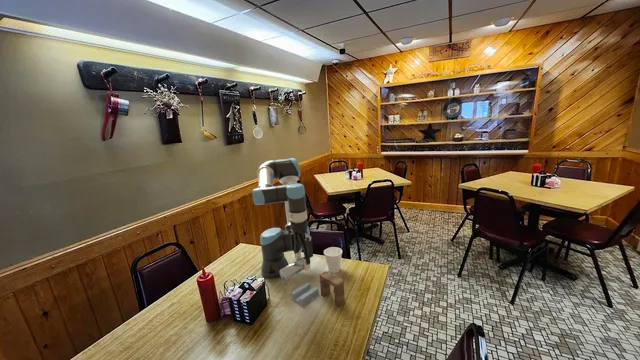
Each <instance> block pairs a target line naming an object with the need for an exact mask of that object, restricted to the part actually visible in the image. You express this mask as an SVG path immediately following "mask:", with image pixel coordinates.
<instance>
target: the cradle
mask: <svg viewBox="0 0 640 360" xmlns="http://www.w3.org/2000/svg"><path fill="white" fill-rule="evenodd" d="M319 295H320V292H319V288H318V287H316V286H314V287H311V283H309V282H306V283H304V284H303V285H301V286H299V287H297V288H296V289H295V290H293V291H291V292H290V298H291V299H292V300H293V301H294V302H296V303H298V304H299V305H300V306H302V307H303V306H304V305H306V304H308V303H309V302H310V301H312V300H314V299H315V298H316V297H318V296H319Z"/></svg>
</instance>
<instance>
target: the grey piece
mask: <svg viewBox="0 0 640 360" xmlns="http://www.w3.org/2000/svg"><path fill="white" fill-rule="evenodd" d="M304 257H305V256H303V257H302V256H301V259H299V260H297V261H296V260H295V261H293V262H292V263H289V265H288V266H286V267H284V268H282V269H281V270H280V271H279V273H280V276H281V277H280V278H281V280H282V281H284V282H286V281H288V280H289V279H291V278H292V277H294V276H296V275H297V274H300V273H301V272H303V271H305V268H304Z"/></svg>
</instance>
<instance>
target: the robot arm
mask: <svg viewBox="0 0 640 360" xmlns="http://www.w3.org/2000/svg"><path fill="white" fill-rule="evenodd" d="M300 176H301V169H300V165H299V162H298V160H297V158H295V157H288V158H281V159H279V158H277V159H270V160H266V161H265V162H263V163H261V165H260V166H258V168H257V170H256V178H257V188H253V189H252V192H251V193H252V199H253V200H252V201H253V205H255V206H260V205H261V206H262V205H269V204H270V205H271V204H276V203H284V207H285V217H286V222H287V223H286V225H285V226H284V228H285V229H283V230H282V228H281V227H272V228H268V229H266V230H264V231H263V232H262V233H261V234H260V237H259V239H260V240H259V241H260V242H259V243H260V247H261V248H260V249H261V255H262V263H261V268H260V271H261V272H260V273H261V275H262V276H263V277H264V278H265V279H266V278H267V279H277V278H281V276H280V273H279V271H280V270H281V269H282V268H284V267H286V266H288V265H290V263H289V262H288V259H287V258H286V256H285V253H288V252H293V254H294V258H295V261H297V260H299V259H301V258H302V252H303V257H304V268H305V269H304V272H308V271H310V270H311V259H312V257H314V250H313V249H314V248H313V236H312V235H310V234H311V233H310V227H309V225H308V222H309V221H308V213H307V211H308V210H307V203H306V190H305V186H304V184H302V183H298V181H299V177H300ZM274 180H278V182H279V183H280V184H282V185H274ZM301 251H302V252H301Z"/></svg>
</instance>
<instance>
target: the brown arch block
mask: <svg viewBox="0 0 640 360" xmlns="http://www.w3.org/2000/svg"><path fill="white" fill-rule="evenodd" d="M344 282H345V281H344V280H343V279H342V278H340V277H338V276H336V275H334V273H333V274H332V273H331V272H330V271H327V270H325V271H324V272H322V273H320V274H319V283H320V284H319V287H320V296H321V297H322V298H324V299H325V298H327V297H328V296H330V295H332V293H331V286H332V287H333V294H334V295H333V296H334V305H335V306H336V307H338V308H340V307H341V306H343V305H344V304H345V303H346V299H345V284H344Z"/></svg>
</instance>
